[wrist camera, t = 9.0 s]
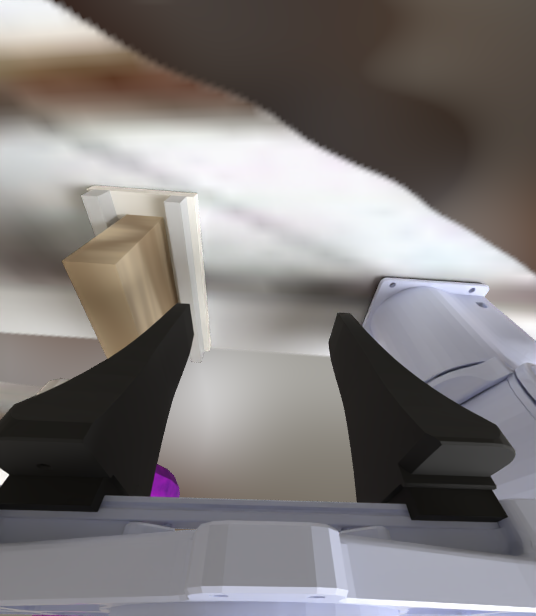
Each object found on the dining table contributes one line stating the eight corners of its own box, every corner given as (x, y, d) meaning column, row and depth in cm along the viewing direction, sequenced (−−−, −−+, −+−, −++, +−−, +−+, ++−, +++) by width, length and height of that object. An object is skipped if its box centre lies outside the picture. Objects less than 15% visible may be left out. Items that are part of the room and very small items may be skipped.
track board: (197, 193, 18) (188, 203, 16) (211, 344, 27) (206, 362, 25) (94, 185, 17) (72, 194, 15) (143, 340, 27) (133, 359, 25)
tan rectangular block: (163, 217, 18) (115, 264, 12) (185, 339, 25) (161, 404, 19) (126, 214, 18) (61, 260, 12) (159, 338, 25) (127, 402, 19)
